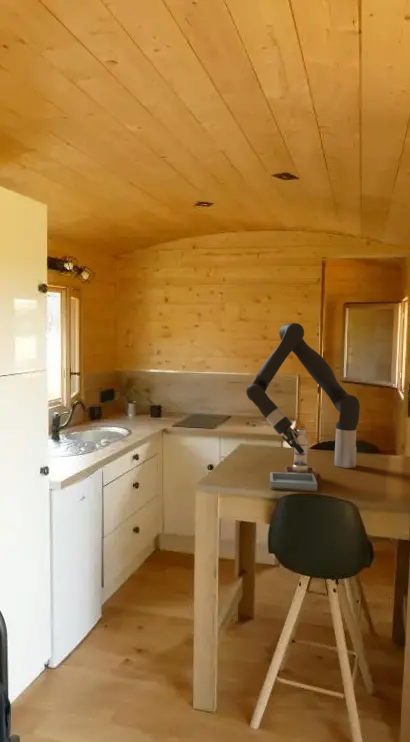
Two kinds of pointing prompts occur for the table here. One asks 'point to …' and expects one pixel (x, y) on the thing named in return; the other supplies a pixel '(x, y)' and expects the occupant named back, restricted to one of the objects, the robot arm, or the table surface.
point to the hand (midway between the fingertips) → (304, 451)
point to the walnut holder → (310, 471)
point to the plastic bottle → (301, 459)
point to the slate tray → (293, 481)
